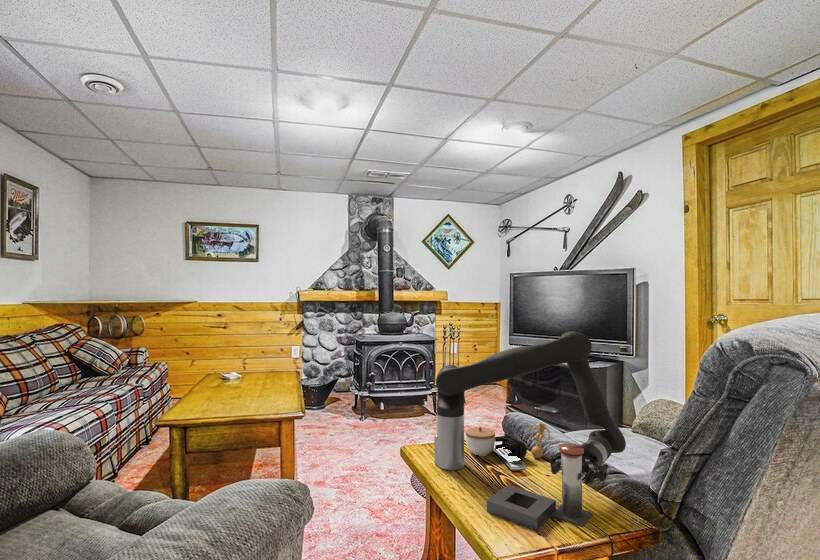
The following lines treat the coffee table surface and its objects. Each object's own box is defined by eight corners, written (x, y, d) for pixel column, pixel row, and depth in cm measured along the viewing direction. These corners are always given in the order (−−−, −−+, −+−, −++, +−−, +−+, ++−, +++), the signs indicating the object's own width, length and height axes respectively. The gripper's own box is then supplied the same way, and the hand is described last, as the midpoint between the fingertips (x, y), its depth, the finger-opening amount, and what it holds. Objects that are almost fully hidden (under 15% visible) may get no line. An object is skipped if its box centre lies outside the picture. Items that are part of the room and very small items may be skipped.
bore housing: (486, 511, 114) (486, 500, 114) (508, 495, 123) (508, 484, 123) (536, 530, 105) (536, 518, 105) (555, 511, 114) (555, 500, 114)
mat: (551, 516, 112) (551, 514, 112) (562, 504, 118) (562, 502, 118) (582, 526, 107) (582, 525, 107) (593, 514, 113) (593, 512, 113)
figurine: (524, 455, 153) (524, 421, 154) (535, 451, 157) (535, 418, 157) (542, 462, 146) (542, 427, 147) (554, 459, 150) (554, 424, 150)
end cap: (527, 460, 149) (527, 441, 149) (509, 463, 146) (509, 443, 146) (511, 450, 158) (511, 432, 158) (494, 453, 156) (494, 434, 156)
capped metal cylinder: (556, 514, 112) (555, 447, 112) (565, 505, 117) (564, 441, 117) (580, 521, 108) (579, 453, 109) (587, 512, 113) (586, 446, 113)
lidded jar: (475, 460, 148) (475, 433, 149) (460, 450, 158) (460, 424, 159) (501, 455, 153) (501, 429, 153) (484, 446, 163) (484, 421, 163)
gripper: (565, 438, 128) (542, 453, 116) (616, 449, 119) (597, 467, 107) (565, 463, 128) (543, 481, 116) (616, 476, 119) (598, 498, 106)
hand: (569, 474), depth 111 cm, fingers open, 8 cm apart
